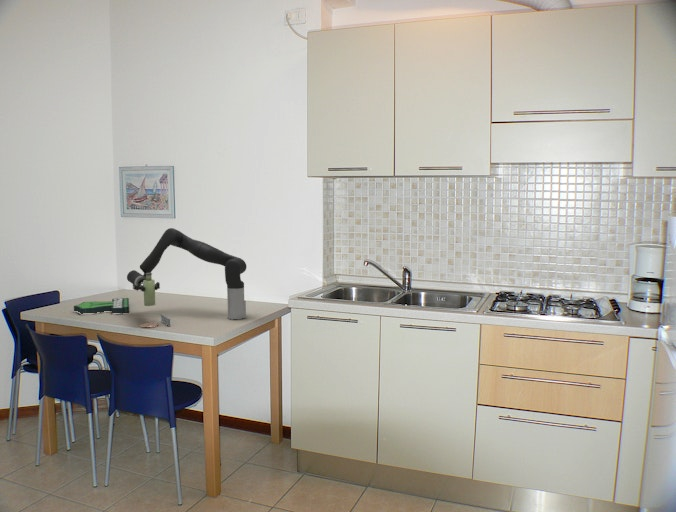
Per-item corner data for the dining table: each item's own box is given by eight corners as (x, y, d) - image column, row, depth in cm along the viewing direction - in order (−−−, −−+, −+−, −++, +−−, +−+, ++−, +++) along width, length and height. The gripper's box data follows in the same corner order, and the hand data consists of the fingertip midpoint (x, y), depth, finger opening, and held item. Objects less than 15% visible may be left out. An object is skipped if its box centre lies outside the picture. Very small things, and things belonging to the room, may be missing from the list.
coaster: (155, 323, 302) (155, 322, 302) (160, 326, 295) (160, 325, 294) (138, 325, 297) (138, 324, 297) (142, 328, 290) (142, 327, 290)
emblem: (129, 307, 324) (71, 311, 313) (129, 314, 324) (71, 318, 314) (128, 297, 352) (75, 301, 341) (128, 304, 352) (76, 307, 342)
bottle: (154, 303, 299) (152, 272, 297) (156, 305, 295) (155, 273, 292) (143, 304, 297) (141, 272, 294) (145, 306, 292) (144, 274, 290)
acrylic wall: (163, 321, 307) (162, 313, 306) (170, 326, 295) (170, 319, 294) (161, 321, 306) (161, 314, 306) (168, 326, 294) (168, 319, 294)
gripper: (128, 277, 302) (135, 282, 288) (156, 275, 310) (164, 280, 295) (129, 291, 303) (136, 297, 289) (156, 289, 311) (164, 294, 296)
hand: (150, 288), depth 292 cm, fingers closed on bottle, 5 cm apart
